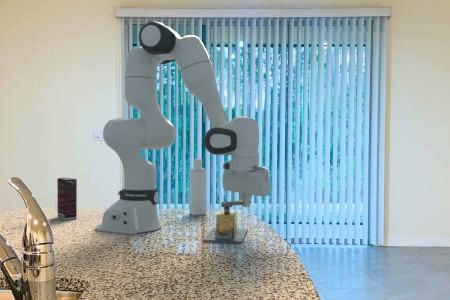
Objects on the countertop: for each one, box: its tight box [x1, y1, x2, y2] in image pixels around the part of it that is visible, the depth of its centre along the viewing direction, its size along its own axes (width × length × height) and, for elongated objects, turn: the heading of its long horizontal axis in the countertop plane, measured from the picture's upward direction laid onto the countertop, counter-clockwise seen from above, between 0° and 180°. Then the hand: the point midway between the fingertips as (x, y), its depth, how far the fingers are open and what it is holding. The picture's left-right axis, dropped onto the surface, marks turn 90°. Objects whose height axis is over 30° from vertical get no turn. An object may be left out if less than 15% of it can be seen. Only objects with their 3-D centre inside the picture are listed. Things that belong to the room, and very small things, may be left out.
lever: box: [220, 199, 252, 208], centre depth 129 cm, size 11×4×1 cm, turn 126°
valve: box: [202, 207, 248, 245], centre depth 127 cm, size 12×17×10 cm
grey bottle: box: [189, 158, 207, 216], centre depth 165 cm, size 7×7×25 cm
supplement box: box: [56, 177, 78, 221], centre depth 154 cm, size 9×5×16 cm, turn 43°
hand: (245, 206), depth 129 cm, fingers closed
